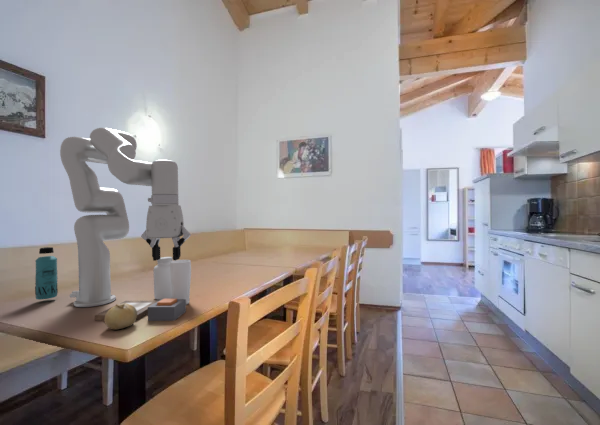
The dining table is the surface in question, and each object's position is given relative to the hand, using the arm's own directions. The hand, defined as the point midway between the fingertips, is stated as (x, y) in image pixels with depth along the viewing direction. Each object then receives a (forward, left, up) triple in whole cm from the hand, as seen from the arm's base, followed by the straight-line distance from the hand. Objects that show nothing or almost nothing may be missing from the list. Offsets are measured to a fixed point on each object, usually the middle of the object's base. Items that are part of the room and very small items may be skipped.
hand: (166, 259), depth 93 cm
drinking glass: (-1, +12, -18) cm, 21 cm away
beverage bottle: (-54, +17, -18) cm, 59 cm away
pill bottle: (-11, +21, -18) cm, 30 cm away
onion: (-9, -9, -18) cm, 22 cm away
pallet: (-14, +4, -17) cm, 23 cm away
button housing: (0, 0, -17) cm, 17 cm away
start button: (0, 0, -16) cm, 16 cm away
